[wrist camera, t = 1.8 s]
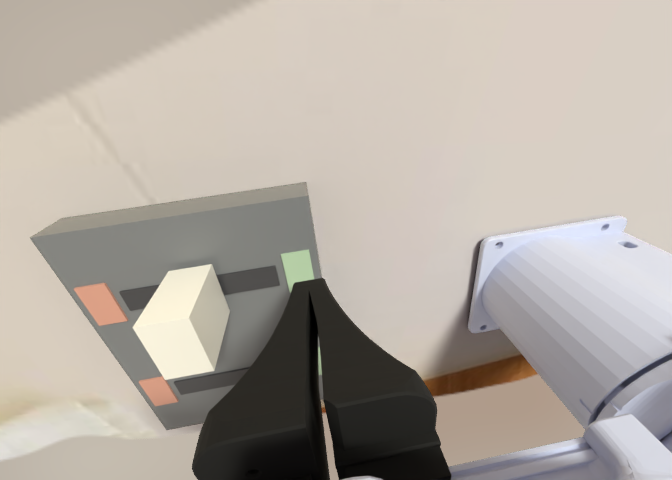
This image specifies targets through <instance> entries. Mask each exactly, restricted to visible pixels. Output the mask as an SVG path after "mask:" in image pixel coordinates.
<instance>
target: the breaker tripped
mask: <svg viewBox="0 0 672 480" xmlns="http://www.w3.org/2000/svg"><path fill="white" fill-rule="evenodd" d="M229 313H230V310H229V308H228V305H227V302H226V300H225V297H224V294H223V292H222V289H221V287H220V284H219V281H218V279H217V276H216V274H215V271H214V268H213V266H212V264H209V265H203V266H197V267H191V268H185V269H179V270H172V271H168V273H167V274H166V276H165V278H164V279H163V281H162V282H161V284H160V285H159V287H158V289H157V290H156V292H155V293H154V295H153V296H152V298H151V299H150V301H149V303H148V304H147V306H146V307H145V309H144V310H143V312H142V314H141V315H140V317H139V318H138V320H137V321H136V323H135V325H134V326H133V329H134V331H135V332H136V334H137V336H138V337H139V339H140V340H141V342H142V344H143V345H144V347H145V349H146V350H147V352H148V353H149V355H150V357H151V358H152V360H153V361H154V363H155V365H156V366H157V368H158V369H159V371H160V373H161V374H162V376H163V377H164V379H165V380H168V379H174V378H179V377H184V376H190V375H195V374H201V373H206V372H211V371H214V370H215V367H216V363H217V359H218V355H219V351H220V348H221V344H222V340H223V336H224V332H225V329H226V325H227V321H228V317H229Z"/></svg>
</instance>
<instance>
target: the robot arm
mask: <svg viewBox="0 0 672 480" xmlns="http://www.w3.org/2000/svg"><path fill="white" fill-rule="evenodd" d="M626 224H627V219H626V218H625V217H622V216H619V215H617V216H611V217H605V218H599V219H593V220H587V221H581V222H575V223H569V224H563V225H557V226H551V227H545V228H539V229H533V230H527V231H521V232H515V233H509V234H503V235H497V236H491V237H487V238H485V239H484V240H483V241H482V242H481V245H480V251H479V258H478V264H477V271H476V277H475V284H474V290H473V296H472V303H471V309H470V316H469V322H468V329H469V330H470V332H471V333H480V332H486V331H491V330H496V329H501V330H502V331H503V333H504V334H505V335H506V336H507V337H508V338H509V340H510V341H511V342H512V343H513V344H514V346H515V347H516V348H517V349H518V350H519V352H520V353H521V354H522V355H523V356H524V357H525V359H526V360H527V361H528V362H529V363H530V365H531V366H532V367H533V368H534V369H535V371H536V372H537V373H538V374H539V375H540V376H541V378H542V379H543V380H544V381H545V382H546V383H547V385H548V386H549V387H550V388H551V389H552V391H553V392H554V393H555V394H556V395H557V397H558V398H559V399H560V400H561V401H562V402H563V404H564V405H565V406H566V407H567V409H568V410H569V411H570V412H571V413H572V414H573V416H574V417H575V418H576V419H577V420H578V421H579V423H580V424H581V425H582V426H583V428H584V429H585V432H584V435H583V437H580V438H575V439H571V440H566V441H562V442H558V443H553V444H548V445H544V446H540V447H535V448H531V449H526V450H522V451H518V452H513V453H508V454H504V455H499V456H495V457H491V458H486V459H482V460H477V461H473V462H468V463H464V464H459V465H455V466H450V467H448V465H447V463H446V460H445V458H444V456H443V453H442V451H441V448H440V445H441V443H440V440H439V437H438V435H437V432H436V430H435V426H436V416H437V407H436V403H435V401H434V398H433V397H432V395H431V393H430V391H429V390H428V388H427V386H426V385H425V383H424V382H423V380H422V379H421V378H420V376H419V375H418V374H417V372H416V371H415V370H413V369H411V368H410V367H408V366H406V365H405V364H403V363H402V362H400V361H398V360H397V359H395V358H394V357H393V356H391V355H390V354H388V353H387V352H385V351H384V350H383V349H382V348H381V347H379V346H378V345H377V344H376V343H374V342H373V341H372V340H371V339H369V338H368V337H367V336H366V335H365V334H364V333H363V332H362V331H361V330H360V329H359V328H358V327H357V326H356V325H355V324H354V323H353V322H352V321H351V320H350V318H349V317H348V316H347V315H346V314H345V312H344V311H343V310H342V308H341V307H340V306H339V304H338V303H337V301H336V300H335V299H334V297H333V295H332V294H331V292H330V290H329V288H328V286H327V284H326V282H325V279H323V278H318V279H312V280H307V281H301V282H295V283H294V285H293V288H292V291H291V294H290V297H289V300H288V303H287V305H286V307H285V310H284V312H283V314H282V317H281V319H280V321H279V323H278V325H277V327H276V328H275V330H274V332H273V334H272V336H271V337H270V339H269V341H268V342H267V344H266V346H265V347H264V349H263V350H262V352H261V353H260V354H259V356H258V357H257V359H256V360H255V361H254V363H253V364H252V365H251V367H250V368H249V369H248V370H247V372H246V373H245V374H244V375H243V376H242V377H241V379H240V380H239V381H238V382H237V383H236V384H235V386H234V387H233V388H232V389H231V390H230V391H229V392H228V393H227V394H226V395H225V396H224V397H223V398H222V399H221V400H220V401H219V402H218V403H217V404H216V405H215V406H214V407H213V408H212V409H211V410H210V411H209V412H208V414H207V417H206V419H205V422H204V424H203V427H202V430H201V432H200V435H199V439H198V443H197V447H196V451H195V455H194V459H193V464H192V470H193V472H194V475H195V476H196V477H197V479H198V480H330V478H329V469H328V461H327V453H326V445H325V436H324V427H323V419H322V410H321V401H320V392H319V365H318V337H319V344H320V355H321V368H322V383H323V400H324V404H325V409H326V414H327V418H328V423H329V428H330V432H331V437H332V441H333V450H334V458H335V466H336V469H337V472H338V477H339V480H672V254H670V253H668V252H666V251H664V250H662V249H659V248H657V247H655V246H653V245H651V244H649V243H646V242H644V241H642V240H640V239H638V238H635V237H633V236H631V235H629V234H627V233H624V232H623V231H624V229H625V226H626ZM498 242H499V243H498ZM497 243H498V244H497ZM496 244H497V245H496ZM495 245H496V246H495Z"/></svg>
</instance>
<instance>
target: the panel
mask: <svg viewBox="0 0 672 480" xmlns="http://www.w3.org/2000/svg"><path fill="white" fill-rule="evenodd" d="M30 239H31V240H32V242H33V243H34V244H35V246H36V247H37V249H38V250H39V251H40V253H41V254H42V256H43V257H44V258H45V260H46V261H47V263H48V264H49V265H50V267H51V268H52V270H53V271H54V272H55V274H56V275H57V277H58V278H59V279H60V281H61V282H62V284H63V285H64V286H65V288H66V289H67V291H68V292H69V293H70V295H71V296H72V298H73V299H74V300H75V302H76V303H77V305H78V306H79V307H80V309H81V310H82V312H83V313H84V315H85V316H86V317H87V319H88V320H89V322H90V323H91V324H92V326H93V327H94V329H95V330H96V331H97V333H98V334H99V336H100V337H101V338H102V340H103V341H104V343H105V344H106V345H107V347H108V348H109V350H110V351H111V352H112V354H113V355H114V357H115V358H116V359H117V361H118V362H119V364H120V365H121V366H122V368H123V369H124V371H125V372H126V373H127V375H128V376H129V378H130V379H131V381H132V382H133V383H134V385H135V386H136V388H137V389H138V390H139V392H140V393H141V395H142V396H143V397H144V399H145V400H146V402H147V403H148V404H149V406H150V407H151V409H152V410H153V411H154V413H155V414H156V416H157V417H158V418H159V420H160V421H161V423H162V424H163V425H164V427H165V428H166V430H170V429H175V428H180V427H185V426H190V425H195V424H200V423H204V422H205V419H206V417H207V414H208V412H209V411H210V410H211V409H212V408H213V407H214V406H215V405H216V404H217V403H218V402H219V401H220V400H221V399H222V398H223V397H224V396H225V395H226V394H227V393H228V392H229V391H230V390H231V389H232V388H233V387H234V386H235V384H236V383H237V382H238V381H239V380H240V379H241V377H242V376H243V375H244V374H245V373H246V372H247V370H248V369H249V368H250V367H251V365H252V364H253V363H254V361H255V360H256V359H257V357H258V356H259V354H260V353H261V352H262V350H263V349H264V347H265V346H266V344H267V342H268V341H269V339H270V337H271V336H272V334H273V332H274V330H275V328H276V327H277V325H278V323H279V321H280V319H281V317H282V314H283V312H284V310H285V307H286V305H287V303H288V300H289V297H290V294H291V291H292V288H293V285H294V283H295V282H301V281H307V280H312V279H318V278H322V276H321V270H320V263H319V257H318V251H317V245H316V239H315V233H314V227H313V221H312V215H311V209H310V203H309V196H308V190H307V184H306V182H304V183H298V184H291V185H284V186H277V187H271V188H264V189H257V190H250V191H244V192H237V193H230V194H223V195H217V196H210V197H203V198H196V199H190V200H183V201H176V202H169V203H162V204H156V205H149V206H142V207H135V208H129V209H122V210H115V211H108V212H102V213H95V214H88V215H81V216H75V217H68V218H62V219H60V220H58V221H57V222H55V223H53V224H52V225H50V226H48V227H47V228H45V229H43V230H42V231H40V232H38V233H37V234H35V235H33V236H32V237H30ZM209 264H212V266H213V268H214V271H215V274H216V276H217V279H218V281H219V284H220V287H221V289H222V292H223V294H224V297H225V300H226V302H227V305H228V308H229V310H230V313H229V317H228V321H227V325H226V329H225V332H224V336H223V340H222V344H221V348H220V351H219V355H218V359H217V363H216V367H215V370H214V371H211V372H206V373H201V374H195V375H190V376H184V377H179V378H174V379H168V380H165V379H164V377H163V376H162V374H161V373H160V371H159V369H158V368H157V366H156V365H155V363H154V361H153V360H152V358H151V357H150V355H149V353H148V352H147V350H146V349H145V347H144V345H143V344H142V342H141V340H140V339H139V337H138V336H137V334H136V332H135V331H134V329H133V326H134V325H135V323H136V321H137V320H138V318H139V317H140V315H141V314H142V312H143V310H144V309H145V307H146V306H147V304H148V303H149V301H150V299H151V298H152V296H153V295H154V293H155V292H156V290H157V289H158V287H159V285H160V284H161V282H162V281H163V279H164V278H165V276H166V274H167V273H168V271H172V270H179V269H185V268H191V267H197V266H203V265H209ZM318 365H319V392H320V400H322V399H323V383H322V368H321V355H320V344H319V337H318Z"/></svg>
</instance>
